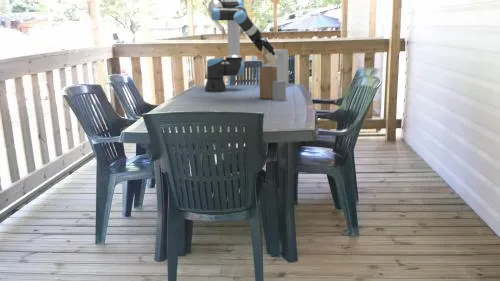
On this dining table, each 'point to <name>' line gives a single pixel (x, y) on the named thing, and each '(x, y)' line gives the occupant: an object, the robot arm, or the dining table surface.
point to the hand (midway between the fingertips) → (273, 57)
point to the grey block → (279, 90)
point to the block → (267, 81)
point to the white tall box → (280, 64)
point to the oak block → (267, 56)
